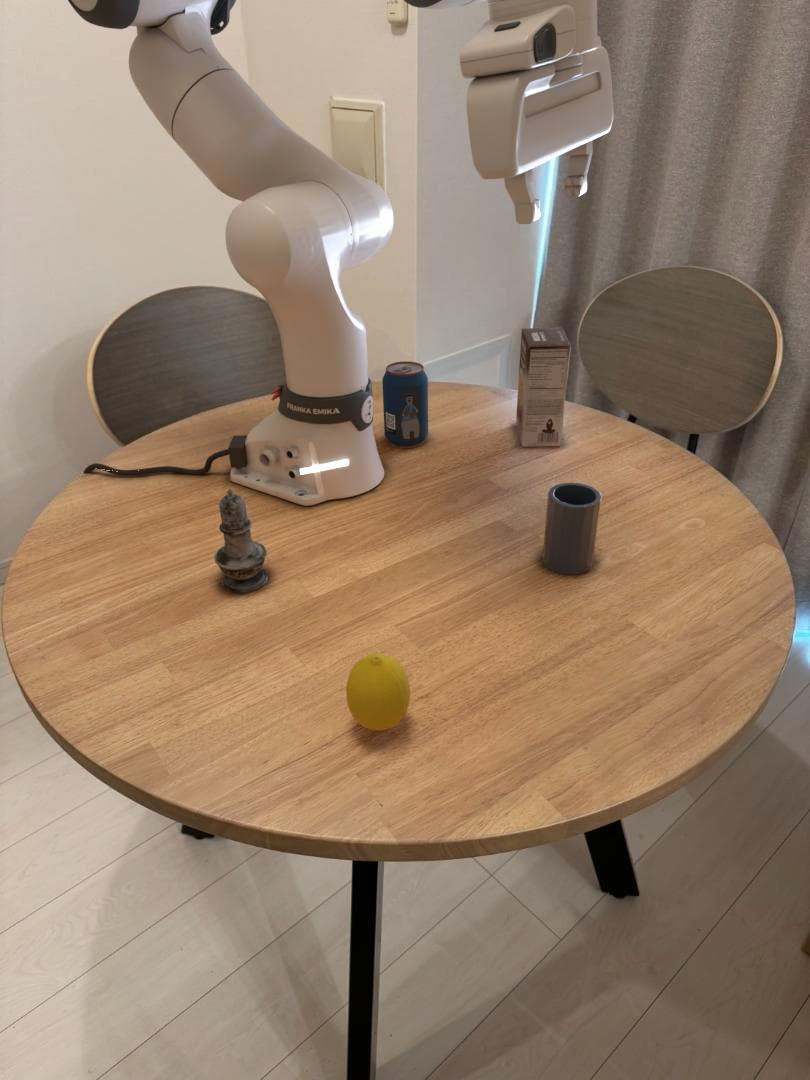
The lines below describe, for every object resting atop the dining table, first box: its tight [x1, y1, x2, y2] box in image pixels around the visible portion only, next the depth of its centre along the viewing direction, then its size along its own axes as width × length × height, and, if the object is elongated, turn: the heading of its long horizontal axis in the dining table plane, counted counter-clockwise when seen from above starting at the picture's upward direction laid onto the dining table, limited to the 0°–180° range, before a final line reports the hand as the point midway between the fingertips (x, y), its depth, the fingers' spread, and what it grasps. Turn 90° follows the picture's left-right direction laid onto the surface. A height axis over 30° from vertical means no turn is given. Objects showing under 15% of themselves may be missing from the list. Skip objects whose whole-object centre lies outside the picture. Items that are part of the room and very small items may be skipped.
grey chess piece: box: [213, 488, 269, 594], centre depth 82 cm, size 6×6×12 cm
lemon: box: [345, 653, 411, 731], centre depth 64 cm, size 6×6×8 cm
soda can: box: [382, 361, 429, 449], centre depth 114 cm, size 7×7×12 cm
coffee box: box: [515, 326, 572, 448], centre depth 114 cm, size 9×6×16 cm
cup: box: [542, 482, 603, 576], centre depth 85 cm, size 6×6×9 cm
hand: (553, 208), depth 70 cm, fingers open, 8 cm apart
